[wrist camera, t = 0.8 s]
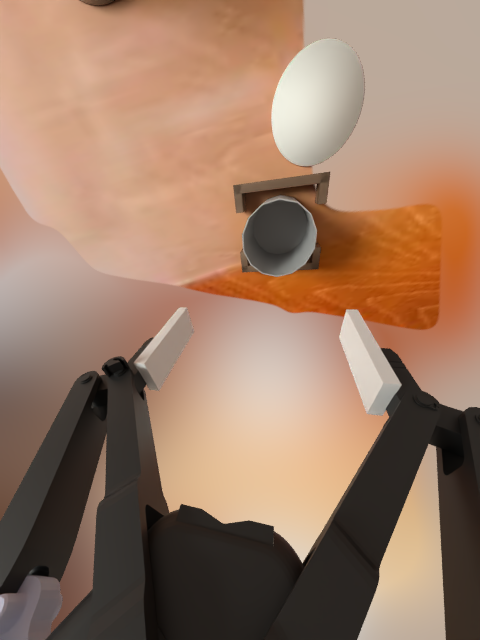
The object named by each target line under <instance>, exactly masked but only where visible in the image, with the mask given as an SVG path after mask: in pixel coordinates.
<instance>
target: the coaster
mask: <svg viewBox="0 0 480 640" xmlns="http://www.w3.org/2000/svg"><path fill="white" fill-rule="evenodd" d="M364 91H365V81H364V72H363V67H362V64H361V61H360V59H359V57H358V55H357V53H356V52H355V51H354V49H353V48H352V47H351V46H349V44H347V43H346V42H344V41H342V40H339V39H335V38H326V39H320V40H318V41H315V42H313V43H311V44H309V45H308V46H306V47H305V48H304V49H302V50H301V51H300V52H299V53H298V54H297V55H296V56H295V57H294V58H293V60H292V61H291V62H290V63H289V65H288V66H287V68H286V70H285V71H284V73H283V75H282V77H281V79H280V81H279V84H278V86H277V89H276V92H275V96H274V100H273V106H272V119H271V120H272V131H273V136H274V140H275V142H276V145H277V147H278V149H279V151H280V152H281V154H282V155H283V156H284V157H285V158H286V159H287V160H288V161H290V162H291V163H293V164H295V165H299V166H313V165H316V164H319V163H322V162H323V161H325V160H327V159H329V158H330V157H331V156H333V155H334V154H335V153H336V152H337V151H338V150H339V149H340V148H341V147H342V146H343V145H344V143H345V142H346V141H347V140H348V138H349V136H350V135H351V133H352V132H353V130H354V128H355V126H356V123H357V121H358V119H359V116H360V112H361V109H362V104H363V100H364Z"/></svg>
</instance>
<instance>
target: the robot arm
mask: <svg viewBox="0 0 480 640" xmlns="http://www.w3.org/2000/svg"><path fill="white" fill-rule="evenodd" d="M80 1H82V2H85V3H88V4H91V5H104V4H108V3H111V2H113V1H114V0H80ZM193 333H194V329H193V326H192V323H191V320H190V316H189V313H188V309H187V308H178V310H177V311H176V312H175V313H174V315H173V316H172V317H171V318H170V319H169V321H168V322H167V323H166V324H165V325H164V327H163V328H162V329H161V330H160V331H159V333H158V334H157V335H156V336H155V337H154V338H150V339H149V340H147V341H146V342H145V343H144V344H143V345H142V347H141V348H140V349H139V350H138V351H137V352H136V353H135V355H134V356H133V357H132V358H131V359H130V360H129V362H128V363H127V362H126V360H125V359H124V358H123V357H114V358H112V359H110V360H108V361H107V362H106V363H105V364H104V365H103V366H102V370H103V371H104V372H105V374H106V375H101V376H99V374H98V373H97V372H95V371H90V372H87V373H85V374H83V375H81V376H80V377H79V378H78V379H77V380H76V381H75V383H74V385H73V387H72V388H71V390H70V392H69V394H68V396H67V398H66V400H65V402H64V404H63V405H62V407H61V409H60V411H59V413H58V415H57V417H56V418H55V421H54V422H53V424H52V426H51V428H50V430H49V432H48V433H47V435H46V437H45V439H44V441H43V443H42V445H41V447H40V448H39V451H38V452H37V454H36V456H35V458H34V460H33V462H32V463H31V465H30V467H29V469H28V471H27V473H26V475H25V476H24V478H23V480H22V482H21V484H20V486H19V488H18V490H17V491H16V493H15V495H14V497H13V499H12V501H11V503H10V505H9V506H8V508H7V510H6V512H5V514H4V516H3V518H2V520H1V521H0V640H357V638H358V635H359V633H360V631H361V628H362V625H363V622H364V620H365V618H366V615H367V612H368V610H369V607H370V604H371V602H372V599H373V597H374V594H375V591H376V588H377V585H378V581H379V567H380V564H381V561H382V558H383V556H384V553H385V551H386V548H387V546H388V543H389V541H390V538H391V536H392V533H393V531H394V528H395V526H396V523H397V521H398V518H399V516H400V513H401V511H402V508H403V506H404V503H405V501H406V498H407V496H408V494H409V491H410V489H411V486H412V484H413V481H414V479H415V476H416V474H417V471H418V469H419V466H420V464H421V461H422V459H423V456H424V454H425V451H426V449H427V446H428V444H431V445H434V446H436V451H437V471H438V491H439V510H440V530H441V550H442V570H443V590H444V607H445V630H446V640H480V408H477V407H469V408H468V409H466V410H465V411H464V412H463V411H460V410H457V409H454V408H450V407H447V406H444V405H442V404H439V402H438V401H437V400H436V399H435V398H434V397H433V396H431V395H430V394H428V393H426V392H423V391H422V390H421V389H420V388H419V386H418V385H417V383H416V382H415V380H414V379H413V377H412V376H411V374H410V373H409V371H408V370H407V369H406V367H405V365H404V364H403V363H402V361H401V359H400V358H399V356H398V355H397V354H396V353H395V352H393V351H392V350H391V349H385V348H380V347H379V345H378V344H377V342H376V340H375V339H374V337H373V335H372V334H371V332H370V330H369V329H368V327H367V325H366V323H365V322H364V320H363V318H362V317H361V315H360V313H359V311H358V310H346V313H345V317H344V321H343V324H342V328H341V332H340V336H339V338H340V341H341V344H342V347H343V349H344V352H345V355H346V358H347V360H348V363H349V366H350V368H351V371H352V374H353V377H354V379H355V382H356V385H357V388H358V390H359V393H360V396H361V399H362V401H363V404H364V407H365V410H366V412H367V414H372V415H383V414H384V412H385V411H386V410H387V413H388V415H389V419H388V420H387V421H386V423H385V424H384V426H383V429H382V430H381V432H380V434H379V435H378V437H377V439H376V441H375V442H374V444H373V446H372V447H371V449H370V451H369V452H368V454H367V456H366V458H365V459H364V461H363V462H362V464H361V466H360V468H359V469H358V471H357V473H356V475H355V476H354V478H353V479H352V481H351V483H350V485H349V486H348V488H347V490H346V491H345V493H344V495H343V496H342V498H341V500H340V502H339V503H338V505H337V507H336V508H335V510H334V512H333V514H332V515H331V517H330V518H329V520H328V522H327V524H326V526H325V527H324V529H323V530H322V532H321V534H320V535H319V537H318V538H317V540H316V542H315V543H314V545H313V546H312V548H311V550H310V552H309V553H308V555H307V557H306V558H305V560H304V562H303V563H302V562H301V560H300V559H299V557H298V555H297V554H296V553H295V551H294V549H293V548H292V547H291V546H290V544H289V543H288V542H287V541H286V540H285V539H284V538H283V537H281V536H280V535H279V534H277V533H276V532H274V527H273V526H270V525H265V524H261V523H257V522H253V521H243V522H235V523H228V524H223V523H221V522H220V521H218V520H217V519H215V518H214V517H212V516H211V515H210V514H208V513H207V512H205V511H204V510H202V509H199V508H195V507H191V506H187V505H183V504H181V506H180V509H179V510H176V511H173V512H170V513H169V510H168V506H167V503H166V500H165V498H164V496H163V492H162V487H161V481H160V475H159V469H158V464H157V458H156V452H155V446H154V440H153V435H152V429H151V423H150V417H149V411H148V406H147V400H146V394H145V391H144V387H145V386H146V384H147V386H148V388H149V389H150V390H158V391H159V390H160V388H161V387H162V385H163V383H164V381H165V380H166V378H167V377H168V375H169V373H170V371H171V369H172V368H173V366H174V365H175V363H176V361H177V359H178V358H179V356H180V355H181V353H182V351H183V350H184V348H185V346H186V345H187V343H188V341H189V339H190V338H191V336H192V334H193ZM106 433H107V446H106V485H105V497H104V499H103V500H102V501H101V502H100V503H99V505H98V508H97V515H96V534H95V554H94V573H93V574H94V576H93V589H92V590H91V591H90V593H89V594H88V595H87V596H86V597H85V598H84V599H83V600H82V601H81V602H80V603H79V604H78V605H77V606H76V607H75V608H74V610H73V611H72V612H71V613H70V614H69V615H68V616H67V617H66V618H65V619H64V620H63V621H62V622H61V624H59V626H58V627H57V628H56V629H55V630H54V631H53V632H52V633H51V624H52V621H53V620H54V619H55V617H56V616H57V614H58V613H59V610H60V608H61V606H62V601H63V600H62V599H63V598H62V595H61V594H60V583H59V582H60V580H61V578H62V576H63V574H64V571H65V568H66V566H67V563H68V561H69V558H70V556H71V553H72V550H73V546H74V543H75V541H76V538H77V534H78V531H79V527H80V524H81V520H82V517H83V513H84V510H85V506H86V503H87V499H88V495H89V492H90V489H91V485H92V482H93V478H94V474H95V471H96V468H97V464H98V461H99V457H100V454H101V450H102V447H103V443H104V440H105V436H106ZM273 538H274V544H273Z"/></svg>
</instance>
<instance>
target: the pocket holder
mask: <svg viewBox="0 0 480 640" xmlns="http://www.w3.org/2000/svg"><path fill="white" fill-rule="evenodd" d="M329 178H330V172H325V173H318V174H311V175H304V176H297V177H290V178H283V179H276V180H268V181H261V182H254V183H247V184H240V185H233V187H234V197H235V206H236V213H242V212H244V211H246V199H245V193H249V192H256V191H264V190H272V189H279V188H287V187H295V186H303V185H310V184H317V188H316V198H315V203H317V204H325V203H326V202H327V195H328V186H329ZM320 251H321V247H320V245H319V244H318V243H315V249H314V251H313V253H312V254H311V256H310V257H309V259H308V261H307V262H306V264H305V265H303V266H302V267H300V268H299V269H298V270H310V269H318V267H319V259H320ZM240 254H241V263H242V272H259V271H258V270H257V269H255V268H254V267H253V266H251V265H250V263H249V261H248V259H247V257H246V255H245V254H244V252H243V249H242V251H241V252H240Z"/></svg>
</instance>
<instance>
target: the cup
mask: <svg viewBox="0 0 480 640" xmlns="http://www.w3.org/2000/svg"><path fill="white" fill-rule="evenodd" d="M316 236H317V229H316V226H315V223H314V220H313V217H312V214H311V213H310V212H309V211H308V210H307V209H306V208H305V207H304V206H303V205H302V204H301V203H299V202H298V201H297V200H296V199H295V198H294V197H290V196H285V195H278V196H275V197H273V198H270V199H267V200H266V201H265V202H264V203H262V204H261V205H260V206H259V207H258V208H257V209H256V210H255V211H254V212H253V213H252V215H251V216H250V217H249V218H248V220H247V223H246V225H245V228H244V231H243V234H242V240H243V252H244V254H245V255H246V257H247V259H248V261H249V263H250V265H251V266H253V267H254V268H255V269H257V270H258V271H259V272H261V273H262V274H266V275H271V276H276V277H278V276H283V275H287V274H292V273H293V272H295V271H296V270H298V269H299V268H300V267H302V266H303V265H305V264H306V262H307V261H308V259H309V257H310V256H311V254H312V253H313V251H314V249H315V243H316Z"/></svg>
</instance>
